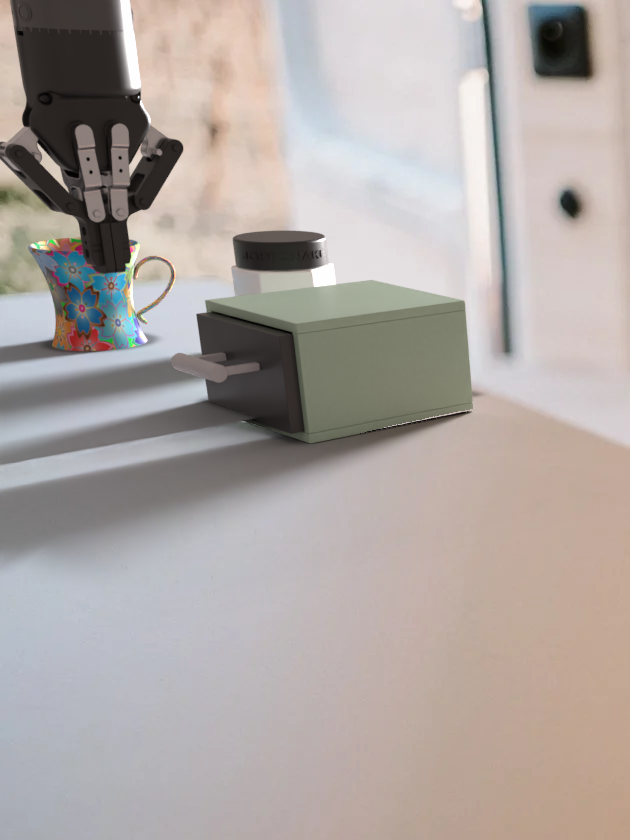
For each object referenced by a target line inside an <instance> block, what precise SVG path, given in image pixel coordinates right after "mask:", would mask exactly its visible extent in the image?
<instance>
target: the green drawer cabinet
mask: <svg viewBox="0 0 630 840" xmlns="http://www.w3.org/2000/svg"><path fill="white" fill-rule="evenodd" d="M204 304H205V309H206V310H205V311H206V312H211V313H215V314H219V315H222V316H226V317H230V316H233V317H237V318H240V319H244V320H248V321H252V322H255V323H259V324H263V325H267V326H270V327H274V328H278V329H282V330H285V331H289V332H293V333H292V334H293V338H294V346H295V354H296V363H297V371H298V380H299V388H300V397H301V405H302V413H303V422H304V430H305V431H304V432H299V433H294V434H290V433H287V432H284V431H281V430H278V429H275V428H272V427H269V426H266V425H262V424H259V423H256V422H253V421H250V420H248V419H244V420H241V422H245V423H247V424H251V425H254V426H256V427H259V428H262V429H265V430H269V431H272V432H275V433H278V434H280V435H284V436H286V437H290V438H293V439H296V440H298V441H301V442H304V443H308V444H316V443H321V442H326V441H330V440H335V439H341V438H345V437H350V436H356V435H360V433H361V434H365V432H366V433H368V432H367V431H371V432H373V431H372V430H376V429H381V428H384V427H388V426H392V425H396V424H397V425H398V424H402V423H406V422H412V421H416V420H422V419H425V418H429V417H433V416H434V417H435V416H439V415H444V414H449V413H453V412H458V411H465V410H470V409H473V410H474V402H473V401H474V398H473V387H472V386H473V385H472V372H471V360H470V348H469V346H470V345H469V335H468V324H467V323H468V321H467V310H466V301H465V300H464V299H459V298H455V297H450V296H446V295H441V294H437V293H432V292H428V291H424V290H419V289H414V288H410V287H405V286H401V285H396V284H391V283H388V282H382V281H379V280H374V279H368V280H359V281H353V282H342V283H336V284H334V285H326V286H317V287H309V288H301V289H293V290H284V291H276V292H268V293H259V294H251V295H243V296H235V295H234V296H227V297H219V298H210V299H205V300H204ZM206 312H205V313H206ZM230 318H231V317H230ZM381 430H382V429H381ZM376 431H377V430H376Z"/></svg>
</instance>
